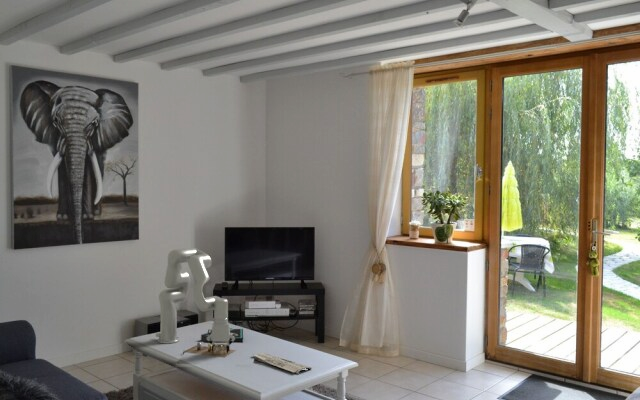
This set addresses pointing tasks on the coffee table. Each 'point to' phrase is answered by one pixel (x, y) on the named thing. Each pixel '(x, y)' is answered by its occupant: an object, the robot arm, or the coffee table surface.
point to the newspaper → (280, 362)
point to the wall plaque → (235, 333)
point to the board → (206, 350)
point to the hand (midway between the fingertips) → (220, 351)
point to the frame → (220, 349)
